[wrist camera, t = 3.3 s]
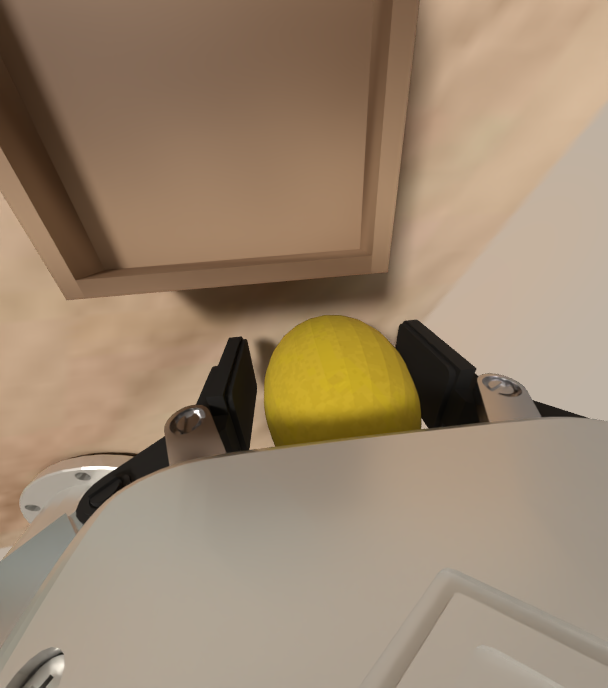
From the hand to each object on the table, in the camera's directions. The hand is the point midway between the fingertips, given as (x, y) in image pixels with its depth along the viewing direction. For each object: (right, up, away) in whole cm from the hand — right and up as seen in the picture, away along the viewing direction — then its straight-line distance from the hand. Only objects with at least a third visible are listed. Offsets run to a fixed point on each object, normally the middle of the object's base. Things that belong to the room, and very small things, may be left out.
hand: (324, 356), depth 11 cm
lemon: (0, +1, +2) cm, 2 cm away
